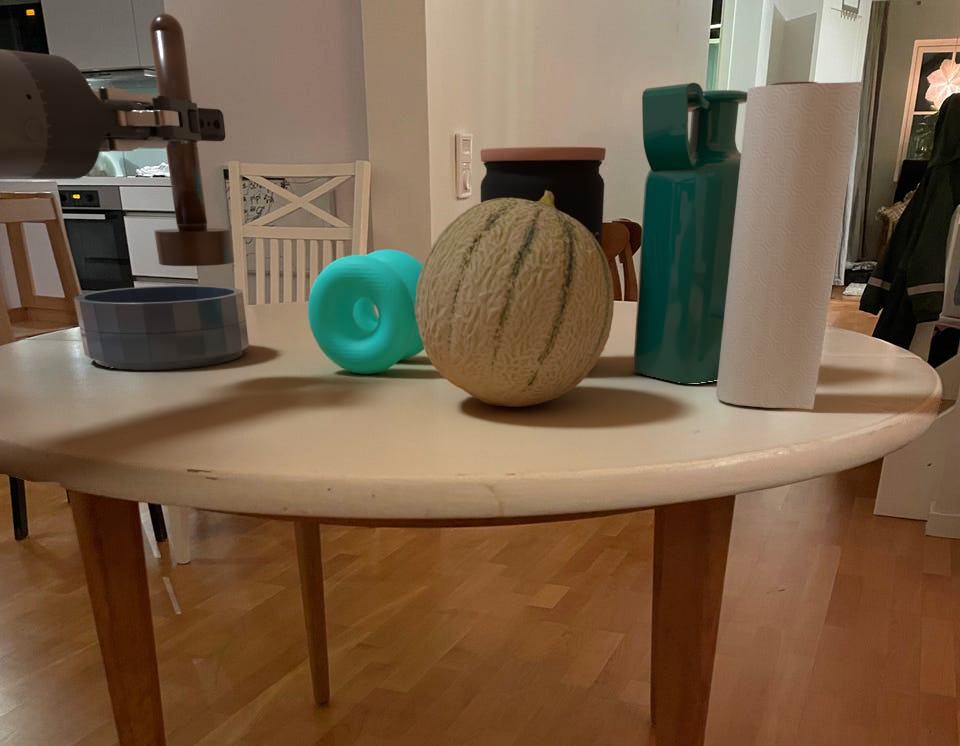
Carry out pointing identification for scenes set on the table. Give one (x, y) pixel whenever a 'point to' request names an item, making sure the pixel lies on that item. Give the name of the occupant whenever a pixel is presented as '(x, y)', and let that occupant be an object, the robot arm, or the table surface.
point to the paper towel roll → (785, 240)
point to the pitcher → (686, 230)
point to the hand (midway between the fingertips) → (207, 126)
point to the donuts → (367, 310)
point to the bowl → (163, 326)
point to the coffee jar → (549, 179)
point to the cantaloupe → (515, 302)
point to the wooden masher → (184, 164)
